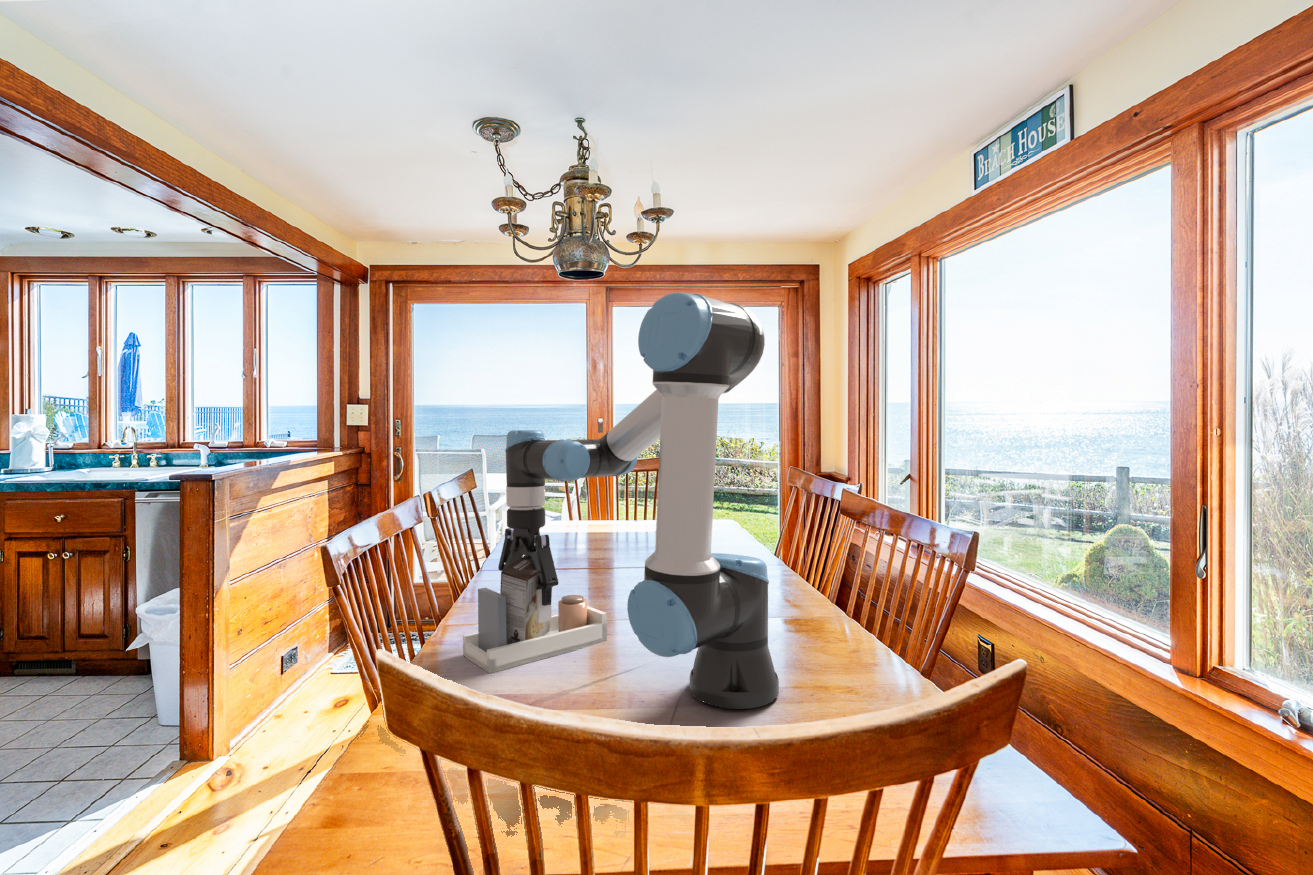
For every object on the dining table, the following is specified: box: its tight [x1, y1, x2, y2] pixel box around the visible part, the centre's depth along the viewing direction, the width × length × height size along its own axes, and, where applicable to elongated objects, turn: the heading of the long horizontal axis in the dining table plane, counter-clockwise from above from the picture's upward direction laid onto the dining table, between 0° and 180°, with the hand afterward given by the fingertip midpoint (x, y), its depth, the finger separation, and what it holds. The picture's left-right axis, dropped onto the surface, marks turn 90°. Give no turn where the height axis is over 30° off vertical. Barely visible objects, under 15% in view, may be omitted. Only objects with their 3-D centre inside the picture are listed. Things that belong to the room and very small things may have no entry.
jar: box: [557, 594, 588, 632], centre depth 132 cm, size 6×6×8 cm
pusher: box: [477, 587, 506, 652], centre depth 121 cm, size 9×2×12 cm, turn 40°
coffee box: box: [499, 555, 555, 645], centre depth 123 cm, size 9×6×16 cm
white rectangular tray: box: [462, 605, 608, 674], centre depth 127 cm, size 12×26×6 cm, turn 130°
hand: (527, 613), depth 125 cm, fingers open, 13 cm apart
